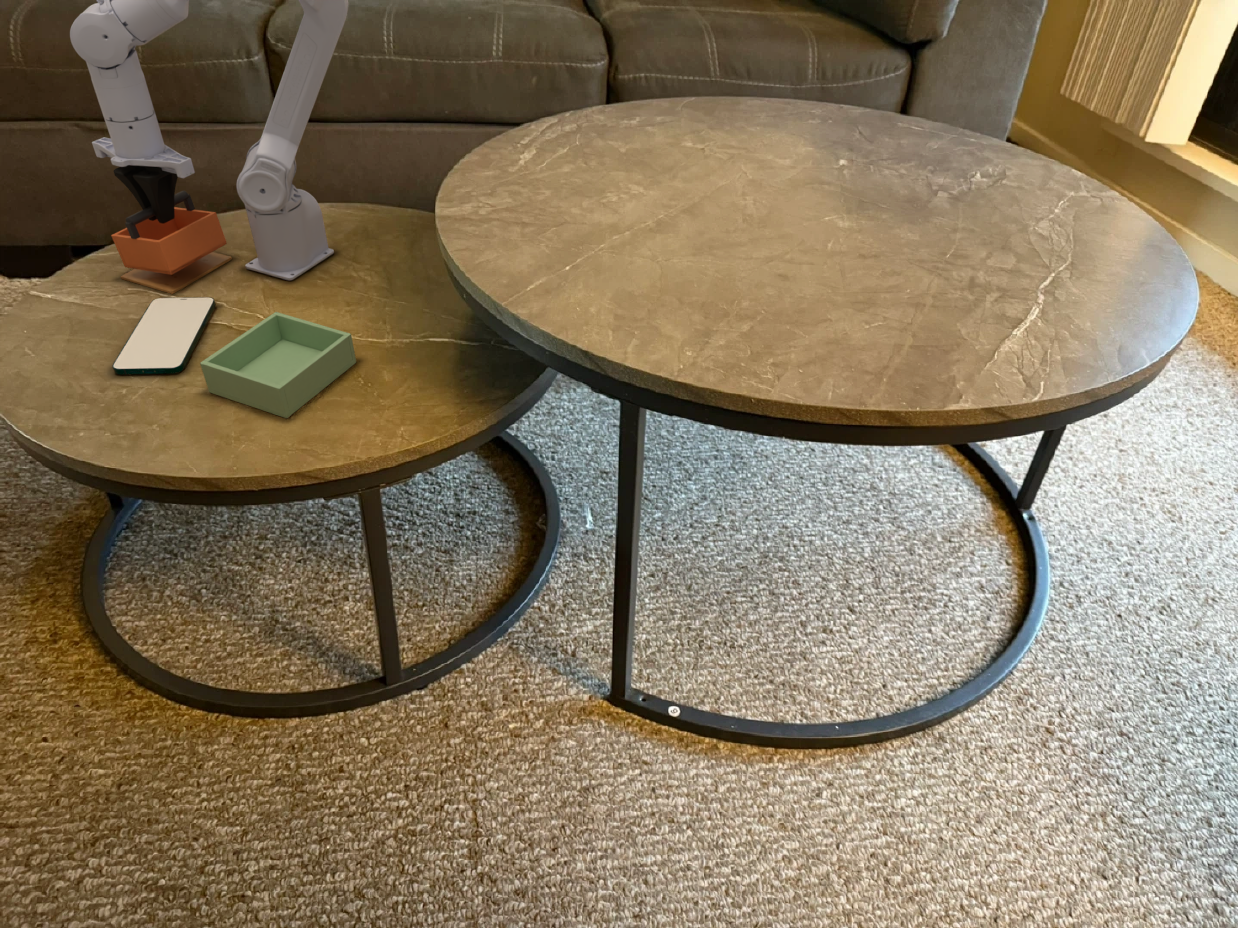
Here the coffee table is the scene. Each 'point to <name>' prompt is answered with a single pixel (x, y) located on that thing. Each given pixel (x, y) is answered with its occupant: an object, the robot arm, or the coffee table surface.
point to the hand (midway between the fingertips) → (162, 218)
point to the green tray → (279, 364)
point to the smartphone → (165, 336)
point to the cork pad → (177, 274)
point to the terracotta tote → (169, 238)
